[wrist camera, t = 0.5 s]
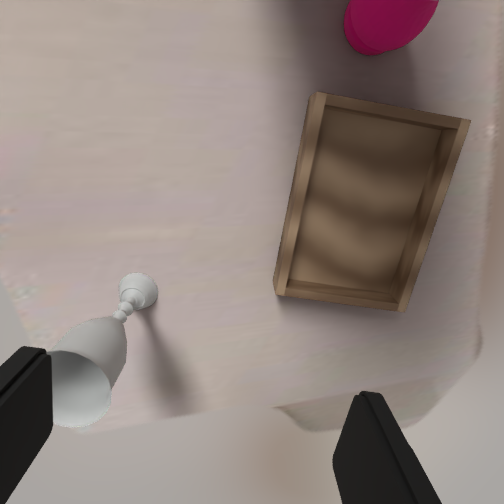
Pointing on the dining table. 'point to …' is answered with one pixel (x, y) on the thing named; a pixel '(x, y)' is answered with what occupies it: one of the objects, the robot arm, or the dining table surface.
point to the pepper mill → (385, 23)
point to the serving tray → (364, 201)
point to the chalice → (95, 357)
